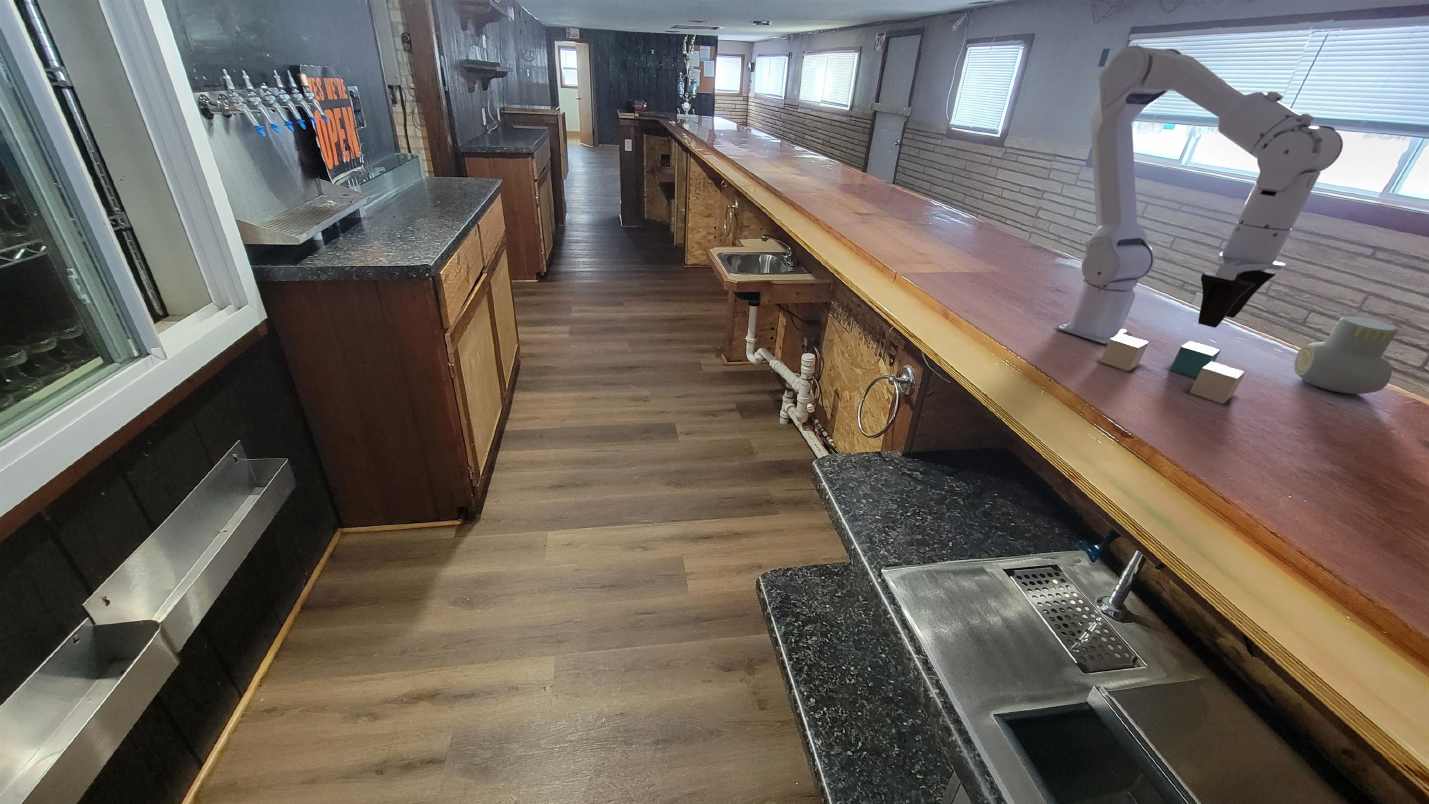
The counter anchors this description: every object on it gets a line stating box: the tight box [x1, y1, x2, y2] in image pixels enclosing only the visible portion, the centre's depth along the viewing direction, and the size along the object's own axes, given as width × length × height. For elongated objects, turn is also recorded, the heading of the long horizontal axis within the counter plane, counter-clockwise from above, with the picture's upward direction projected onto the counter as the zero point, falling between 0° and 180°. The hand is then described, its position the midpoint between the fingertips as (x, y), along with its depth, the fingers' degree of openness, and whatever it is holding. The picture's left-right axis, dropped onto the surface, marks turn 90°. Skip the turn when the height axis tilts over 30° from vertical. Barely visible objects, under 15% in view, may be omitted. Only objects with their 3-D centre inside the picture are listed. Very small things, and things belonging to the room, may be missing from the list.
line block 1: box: [1100, 334, 1149, 372], centre depth 88 cm, size 4×4×4 cm
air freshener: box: [1293, 315, 1399, 395], centre depth 82 cm, size 11×8×10 cm
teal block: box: [1169, 340, 1221, 380], centre depth 86 cm, size 4×4×4 cm
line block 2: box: [1189, 361, 1246, 405], centre depth 80 cm, size 4×4×4 cm
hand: (1216, 320), depth 83 cm, fingers open, 7 cm apart
